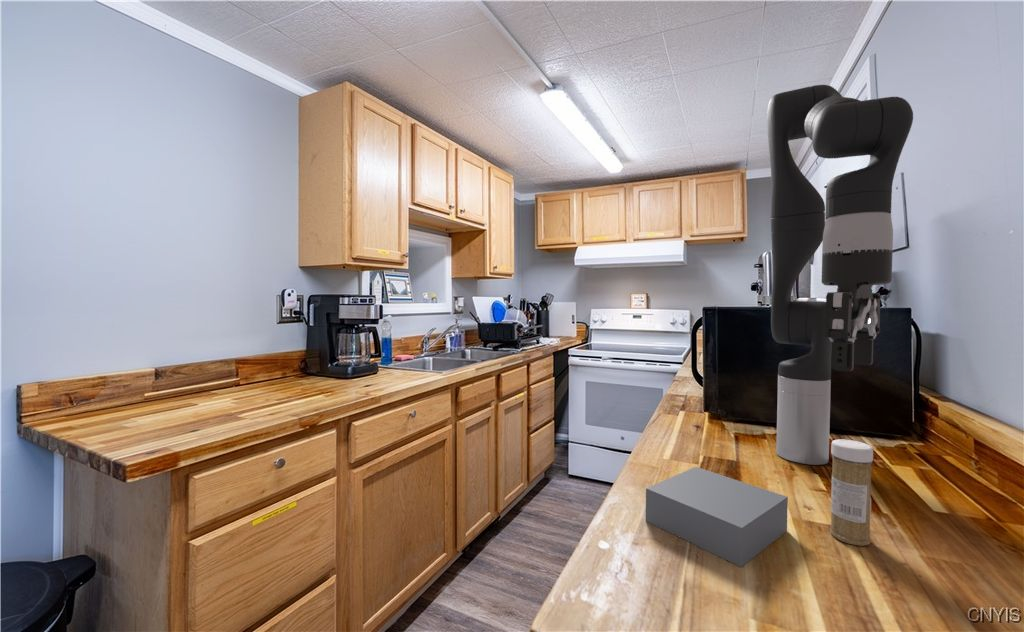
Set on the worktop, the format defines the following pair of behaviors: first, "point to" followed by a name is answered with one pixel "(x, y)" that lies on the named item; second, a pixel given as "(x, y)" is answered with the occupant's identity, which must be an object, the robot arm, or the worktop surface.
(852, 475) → the spice jar
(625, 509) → the worktop surface
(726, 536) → the grey block
